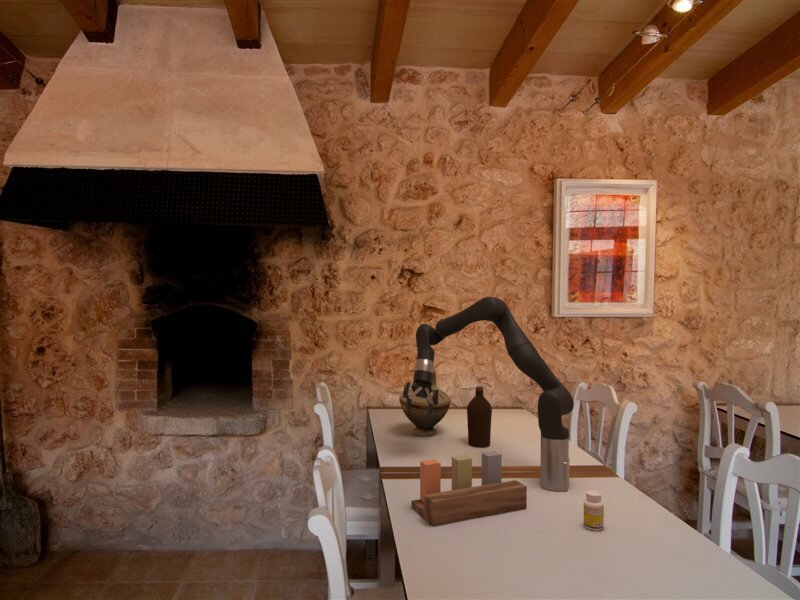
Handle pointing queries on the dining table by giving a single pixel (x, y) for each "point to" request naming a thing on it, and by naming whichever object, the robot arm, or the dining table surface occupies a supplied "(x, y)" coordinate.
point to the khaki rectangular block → (461, 472)
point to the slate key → (491, 468)
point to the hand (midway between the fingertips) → (418, 412)
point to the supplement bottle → (593, 511)
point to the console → (472, 502)
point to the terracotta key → (430, 477)
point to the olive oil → (479, 420)
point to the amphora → (419, 411)
